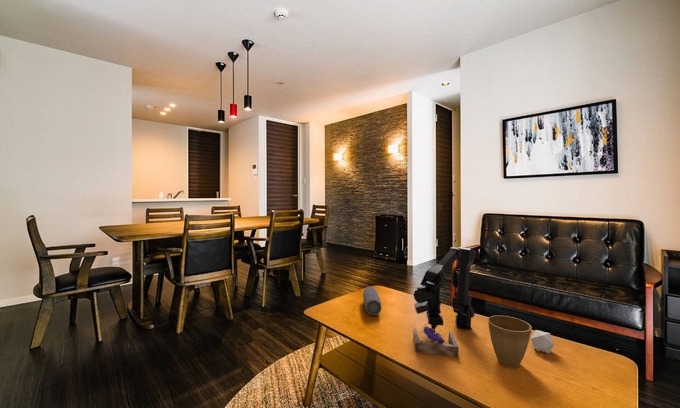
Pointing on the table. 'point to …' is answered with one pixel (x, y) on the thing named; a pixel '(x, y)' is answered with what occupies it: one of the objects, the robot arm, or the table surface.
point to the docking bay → (436, 346)
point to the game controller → (433, 335)
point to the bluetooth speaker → (371, 301)
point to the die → (542, 341)
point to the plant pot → (509, 339)
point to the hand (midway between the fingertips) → (433, 330)
